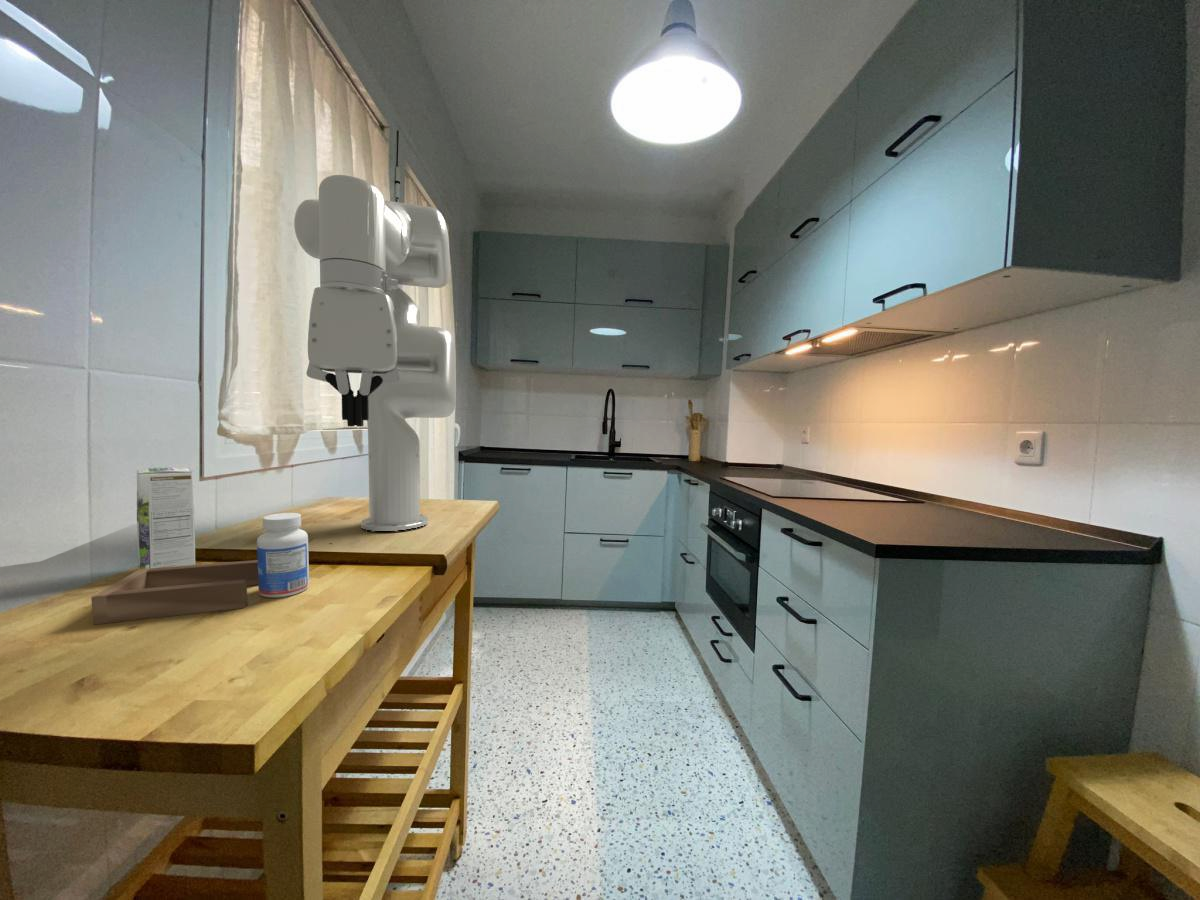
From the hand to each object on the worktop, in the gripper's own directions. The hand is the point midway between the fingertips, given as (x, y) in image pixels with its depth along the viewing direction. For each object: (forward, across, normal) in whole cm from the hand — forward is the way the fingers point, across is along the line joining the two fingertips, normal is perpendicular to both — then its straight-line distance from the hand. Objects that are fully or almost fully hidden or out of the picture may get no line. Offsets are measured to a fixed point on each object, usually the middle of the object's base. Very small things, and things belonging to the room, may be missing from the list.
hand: (355, 425), depth 61 cm
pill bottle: (+21, +8, -1) cm, 23 cm away
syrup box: (+21, +25, -15) cm, 36 cm away
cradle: (+21, +17, -1) cm, 27 cm away
